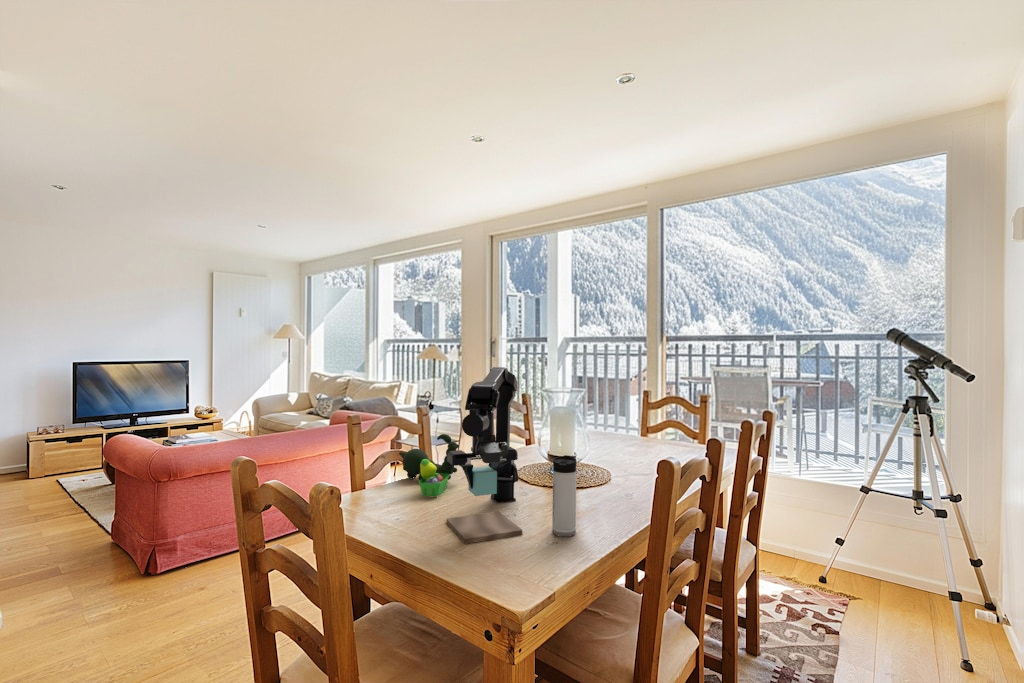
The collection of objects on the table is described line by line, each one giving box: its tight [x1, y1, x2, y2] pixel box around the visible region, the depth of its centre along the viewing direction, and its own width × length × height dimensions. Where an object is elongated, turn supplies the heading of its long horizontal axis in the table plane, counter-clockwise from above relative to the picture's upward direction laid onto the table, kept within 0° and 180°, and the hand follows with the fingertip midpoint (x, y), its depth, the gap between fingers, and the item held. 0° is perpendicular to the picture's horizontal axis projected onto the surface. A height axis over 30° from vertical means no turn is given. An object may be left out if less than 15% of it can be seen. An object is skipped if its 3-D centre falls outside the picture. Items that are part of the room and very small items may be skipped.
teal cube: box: [467, 465, 497, 497], centre depth 136 cm, size 6×6×6 cm
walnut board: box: [445, 510, 523, 545], centre depth 136 cm, size 16×16×1 cm
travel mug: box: [551, 454, 577, 537], centre depth 134 cm, size 6×7×20 cm
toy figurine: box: [398, 433, 460, 481], centre depth 183 cm, size 9×19×25 cm
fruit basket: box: [418, 459, 449, 498], centre depth 168 cm, size 11×9×11 cm
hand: (482, 487), depth 136 cm, fingers closed on teal cube, 6 cm apart
